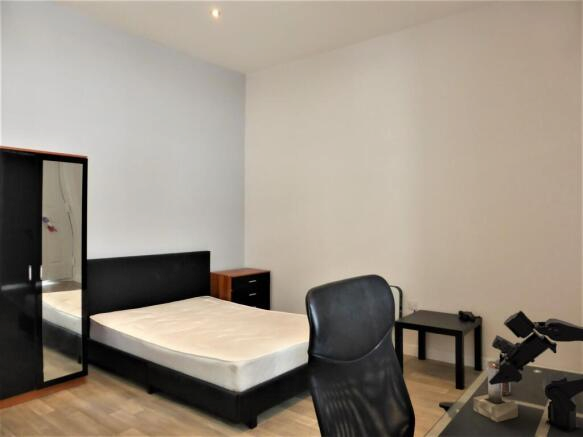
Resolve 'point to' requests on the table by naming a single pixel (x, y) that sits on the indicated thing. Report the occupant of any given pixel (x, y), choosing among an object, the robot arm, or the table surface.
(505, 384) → the supplement bottle
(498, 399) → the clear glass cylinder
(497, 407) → the mount
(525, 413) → the table surface
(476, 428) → the table surface
